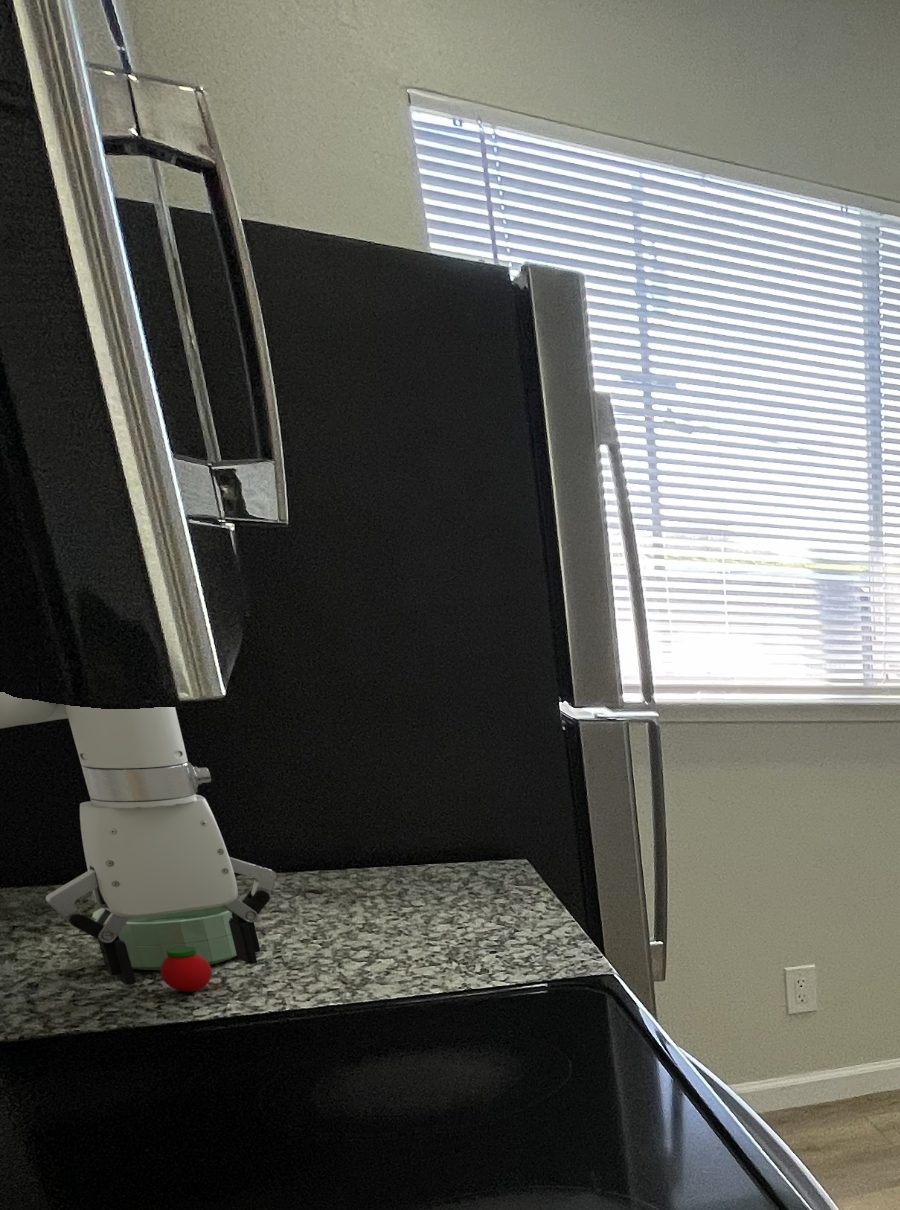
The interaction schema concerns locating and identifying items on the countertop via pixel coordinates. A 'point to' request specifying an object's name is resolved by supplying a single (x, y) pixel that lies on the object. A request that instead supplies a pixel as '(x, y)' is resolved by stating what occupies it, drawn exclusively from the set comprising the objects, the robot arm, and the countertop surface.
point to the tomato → (185, 969)
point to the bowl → (177, 936)
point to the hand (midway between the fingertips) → (188, 970)
